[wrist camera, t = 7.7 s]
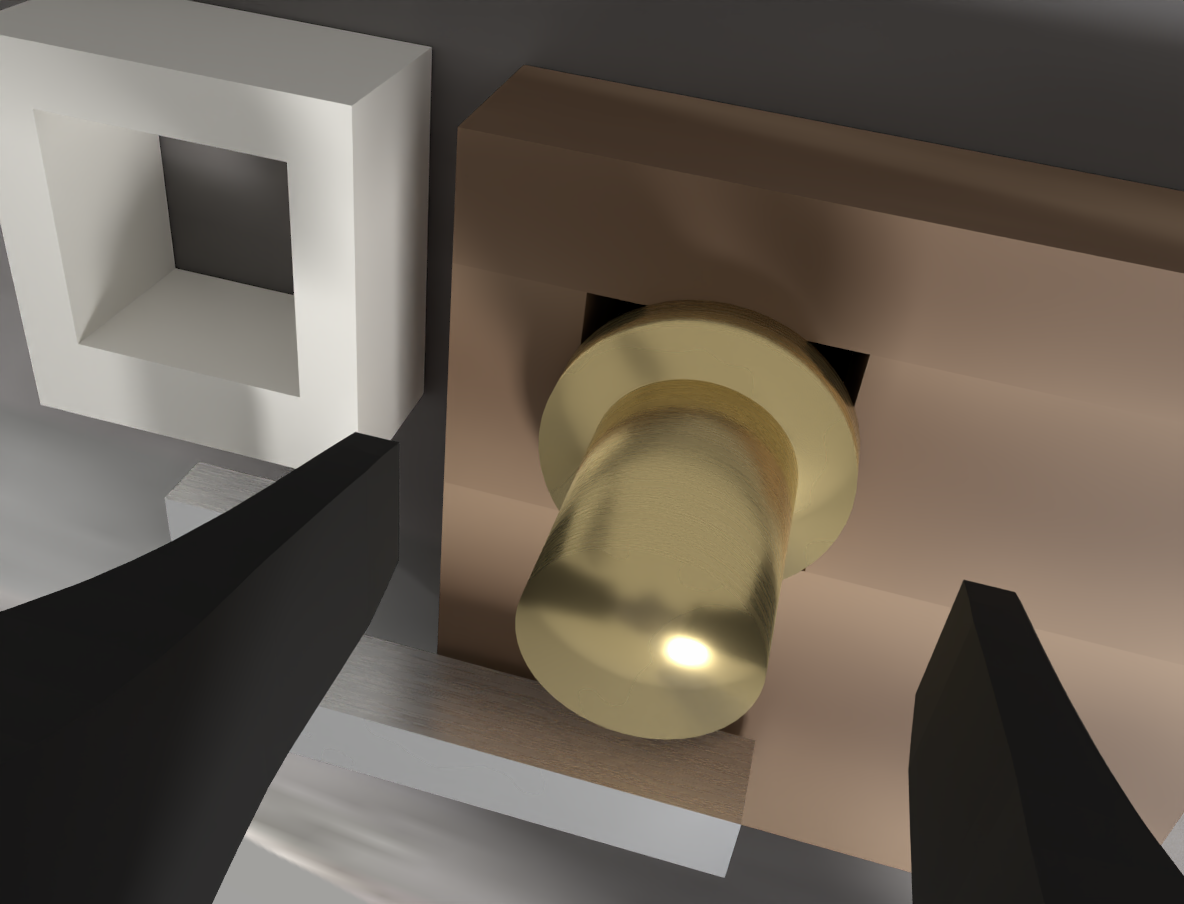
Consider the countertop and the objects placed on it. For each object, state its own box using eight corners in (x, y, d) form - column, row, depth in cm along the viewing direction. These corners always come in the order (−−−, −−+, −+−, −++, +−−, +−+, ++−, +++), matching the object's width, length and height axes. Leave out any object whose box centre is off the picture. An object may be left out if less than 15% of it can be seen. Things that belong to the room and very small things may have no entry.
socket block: (1086, 796, 23) (1104, 926, 20) (482, 634, 24) (433, 738, 22) (1422, 237, 15) (1511, 339, 13) (523, 64, 17) (457, 127, 15)
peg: (830, 497, 20) (791, 823, 14) (579, 437, 20) (445, 726, 15) (902, 262, 17) (887, 549, 11) (609, 201, 17) (458, 445, 12)
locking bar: (739, 793, 20) (724, 877, 19) (188, 641, 22) (136, 708, 20) (803, 578, 17) (792, 660, 16) (155, 417, 19) (91, 479, 17)
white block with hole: (423, 393, 21) (358, 484, 19) (137, 325, 22) (40, 404, 20) (431, 47, 17) (351, 105, 15) (85, -20, 18) (-44, 25, 16)
